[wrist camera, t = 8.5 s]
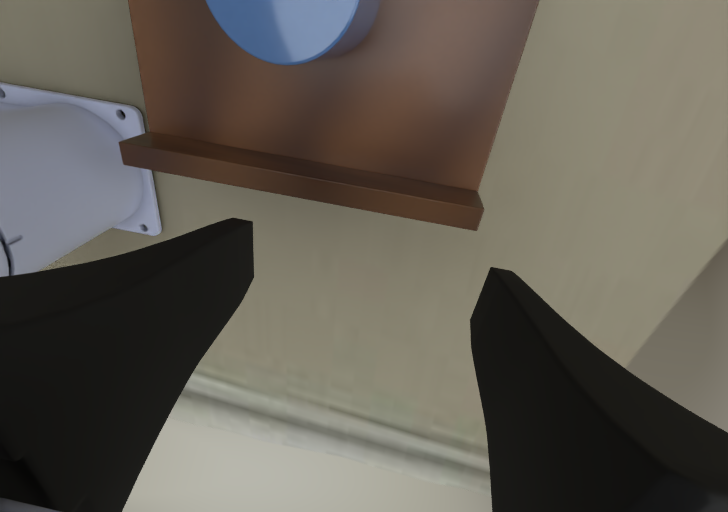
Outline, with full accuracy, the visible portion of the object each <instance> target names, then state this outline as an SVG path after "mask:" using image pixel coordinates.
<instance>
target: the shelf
mask: <svg viewBox="0 0 728 512" xmlns="http://www.w3.org/2000/svg"><path fill="white" fill-rule="evenodd" d="M128 3H129V9H130V15H131V21H132V27H133V34H134V40H135V46H136V52H137V58H138V64H139V70H140V76H141V82H142V88H143V94H144V100H145V106H146V112H147V118H148V124H149V130H150V132H147V133H144V134H141V135H138V136H135V137H132V138H129V139H126V140H122V141H119V147H120V152H121V157H122V161H123V165H126V166H132V167H137V168H142V169H148V170H153V171H158V172H164V173H169V174H175V175H180V176H185V177H191V178H196V179H201V180H207V181H212V182H217V183H223V184H228V185H233V186H239V187H244V188H249V189H255V190H260V191H265V192H271V193H276V194H281V195H287V196H292V197H298V198H303V199H308V200H314V201H319V202H324V203H330V204H335V205H340V206H346V207H351V208H356V209H362V210H367V211H372V212H378V213H383V214H388V215H394V216H399V217H405V218H410V219H415V220H421V221H426V222H431V223H437V224H442V225H447V226H453V227H458V228H463V229H469V230H474V231H477V230H478V227H479V224H480V221H481V218H482V215H483V212H484V207H483V204H482V202H481V199H480V196H479V194H478V189H479V186H480V183H481V179H482V176H483V173H484V170H485V167H486V164H487V161H488V158H489V155H490V152H491V149H492V145H493V142H494V139H495V136H496V133H497V130H498V127H499V124H500V121H501V118H502V115H503V111H504V108H505V105H506V102H507V99H508V96H509V93H510V90H511V87H512V84H513V81H514V77H515V74H516V71H517V68H518V65H519V62H520V59H521V56H522V53H523V50H524V47H525V43H526V40H527V37H528V34H529V31H530V28H531V25H532V22H533V19H534V16H535V13H536V9H537V6H538V3H539V0H380V5H379V9H378V13H377V16H376V19H375V21H374V23H373V26H372V27H371V29H370V31H369V33H368V34H367V35H366V37H365V38H364V39H363V41H362V42H361V43H360V44H359V45H358V46H357V47H355V48H354V49H353V50H351V51H350V52H348V53H346V54H345V55H342V56H340V57H337V58H332V59H327V60H322V61H316V62H311V63H305V64H300V65H289V66H285V65H276V64H272V63H268V62H265V61H263V60H260V59H258V58H256V57H254V56H252V55H250V54H249V53H247V52H246V51H244V50H243V49H242V48H240V47H239V46H238V45H237V44H236V43H235V42H234V41H232V40H231V39H230V38H229V36H228V35H227V34H226V33H225V32H224V31H223V29H222V28H221V27H220V25H219V24H218V22H217V21H216V19H215V18H214V16H213V14H212V12H211V11H210V9H209V7H208V5H207V3H206V0H128Z"/></svg>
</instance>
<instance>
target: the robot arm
mask: <svg viewBox="0 0 728 512" xmlns="http://www.w3.org/2000/svg"><path fill="white" fill-rule="evenodd" d="M3 91H4V92H5V94H4V92H3ZM121 110H122V111H123V112H124V113H125V117H124V116H123V115H122V113H121ZM144 133H145V128H144V123H143V117H142V114H141V112H140V111H139V109H137V108H136V107H134V106H131V105H126V104H120V103H115V102H109V101H104V100H98V99H92V98H87V97H81V96H76V95H70V94H64V93H59V92H53V91H48V90H42V89H37V88H31V87H25V86H20V85H14V84H9V83H3V82H0V512H122V510H123V508H124V506H125V504H126V501H127V499H128V497H129V495H130V493H131V491H132V488H133V486H134V484H135V482H136V480H137V477H138V475H139V473H140V471H141V469H142V467H143V465H144V463H145V461H146V459H147V457H148V455H149V453H150V451H151V449H152V447H153V445H154V443H155V441H156V439H157V437H158V435H159V433H160V431H161V429H162V427H163V425H164V424H165V422H166V420H167V418H168V416H169V414H170V412H171V410H172V408H173V407H174V405H175V403H176V401H177V399H178V397H179V396H180V394H181V392H182V390H183V388H184V387H185V385H186V383H187V381H188V380H189V378H190V376H191V374H192V373H193V371H194V369H195V368H196V366H197V365H198V363H199V362H200V360H201V359H202V357H203V356H204V354H205V353H206V352H207V350H208V349H209V347H210V346H211V345H212V343H213V342H214V340H215V339H216V338H217V336H218V335H219V333H220V332H221V331H222V329H223V328H224V326H225V325H226V324H227V322H228V321H229V319H230V318H231V316H232V315H233V314H234V312H235V311H236V309H237V308H238V306H239V305H240V303H241V302H242V300H243V298H244V296H245V294H246V292H247V290H248V288H249V286H250V284H251V282H252V280H253V278H254V258H253V222H252V221H247V220H242V219H237V218H230V219H226V220H223V221H220V222H217V223H214V224H211V225H208V226H206V227H203V228H200V229H197V230H195V231H192V232H189V233H186V234H184V235H181V236H178V237H175V238H173V239H170V240H166V241H163V242H160V243H157V244H154V245H151V246H148V247H145V248H142V249H139V250H135V251H132V252H129V253H125V254H121V255H117V256H113V257H109V258H105V259H101V260H97V261H93V262H88V263H83V264H78V265H72V266H67V267H61V268H56V269H50V270H45V271H40V270H41V269H43V268H45V267H46V266H48V265H50V264H51V263H53V262H55V261H56V260H58V259H60V258H61V257H63V256H65V255H66V254H68V253H70V252H71V251H73V250H75V249H76V248H78V247H80V246H81V245H83V244H85V243H86V242H88V241H90V240H92V239H93V238H95V237H97V236H98V235H100V234H102V233H103V232H105V231H107V230H108V229H110V228H116V229H121V230H126V231H131V232H136V233H141V234H147V235H152V236H156V235H158V234H159V233H161V231H162V227H161V221H160V215H159V209H158V204H157V198H156V192H155V186H154V181H153V175H152V170H148V169H142V168H137V167H132V166H126V165H123V161H122V157H121V152H120V147H119V141H122V140H126V139H129V138H132V137H135V136H138V135H141V134H144ZM144 225H145V226H147V228H146V227H145V226H144ZM38 271H40V272H38ZM470 329H471V349H472V355H473V361H474V366H475V371H476V377H477V382H478V387H479V392H480V397H481V402H482V408H483V413H484V418H485V425H486V431H487V441H488V453H489V465H490V479H491V495H492V510H493V511H492V512H728V433H727V432H725V431H724V430H722V429H720V428H718V427H717V426H715V425H713V424H711V423H709V422H708V421H706V420H704V419H703V418H701V417H699V416H697V415H696V414H694V413H692V412H691V411H689V410H687V409H686V408H684V407H682V406H681V405H679V404H678V403H676V402H674V401H673V400H671V399H670V398H668V397H667V396H665V395H663V394H662V393H660V392H659V391H657V390H656V389H654V388H653V387H651V386H650V385H648V384H646V383H645V382H643V381H642V380H640V379H639V378H638V377H636V376H634V375H633V374H632V373H630V372H629V371H627V370H626V369H625V368H623V367H622V366H621V365H619V364H618V363H617V362H615V361H614V360H613V359H611V358H610V357H609V356H607V355H606V354H605V353H603V352H602V351H601V350H599V349H598V348H597V347H596V346H594V345H593V344H592V343H591V342H589V341H588V340H587V339H586V338H585V337H584V336H582V335H581V334H580V333H579V332H578V331H577V330H575V329H574V328H573V327H572V326H571V325H570V324H569V323H567V322H566V321H565V320H564V319H563V318H562V317H561V316H560V315H559V314H558V313H556V312H555V311H554V310H553V309H552V308H551V307H550V306H549V305H548V304H547V303H546V302H545V301H544V300H543V299H542V298H541V297H540V296H539V295H538V294H537V293H535V292H534V291H533V290H532V289H531V288H530V287H529V286H528V285H527V284H526V283H525V282H524V281H523V280H522V279H521V278H520V277H518V276H517V275H516V274H515V273H514V272H512V271H509V270H504V269H498V268H493V267H491V268H490V270H489V273H488V275H487V278H486V281H485V283H484V286H483V288H482V291H481V293H480V296H479V299H478V301H477V304H476V306H475V309H474V311H473V314H472V317H471V319H470Z"/></svg>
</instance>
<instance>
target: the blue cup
mask: <svg viewBox="0 0 728 512" xmlns="http://www.w3.org/2000/svg"><path fill="white" fill-rule="evenodd" d="M206 3H207V5H208V7H209V9H210V11H211V12H212V14H213V16H214V18H215V19H216V21H217V22H218V24H219V25H220V27H221V28H222V29H223V31H224V32H225V33H226V34H227V35H228V36H229V38H230V39H231V40H232V41H234V42H235V43H236V44H237V45H238V46H239V47H240V48H242V49H243V50H244V51H246V52H247V53H249V54H250V55H252V56H254V57H256V58H258V59H260V60H263V61H265V62H268V63H272V64H276V65H285V66H289V65H300V64H305V63H311V62H316V61H322V60H327V59H332V58H337V57H340V56H342V55H345V54H346V53H348V52H350V51H351V50H353V49H354V48H355V47H357V46H358V45H359V44H360V43H361V42H362V41H363V39H364V38H365V37H366V35H367V34H368V33H369V31H370V29H371V27H372V26H373V23H374V21H375V19H376V16H377V13H378V9H379V5H380V0H206Z"/></svg>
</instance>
